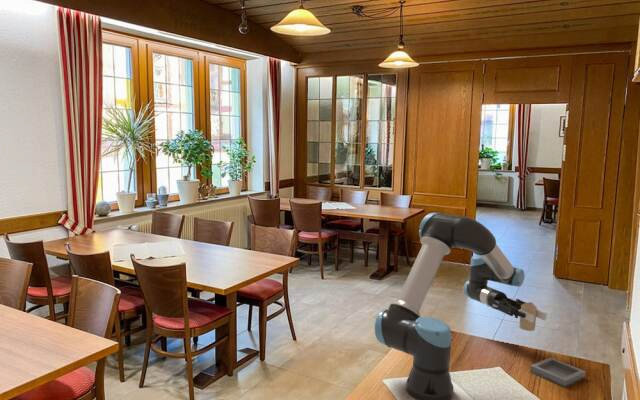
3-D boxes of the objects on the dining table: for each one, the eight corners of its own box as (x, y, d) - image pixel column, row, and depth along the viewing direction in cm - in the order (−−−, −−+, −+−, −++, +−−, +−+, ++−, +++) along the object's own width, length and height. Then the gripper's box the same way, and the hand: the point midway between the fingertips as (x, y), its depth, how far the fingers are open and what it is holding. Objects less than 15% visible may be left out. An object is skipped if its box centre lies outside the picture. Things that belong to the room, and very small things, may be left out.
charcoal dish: (565, 387, 164) (565, 380, 164) (530, 371, 175) (530, 365, 174) (585, 378, 171) (585, 371, 171) (550, 363, 182) (550, 357, 182)
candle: (527, 324, 189) (529, 300, 187) (538, 330, 183) (540, 304, 182) (516, 326, 187) (518, 301, 185) (526, 331, 181) (529, 306, 180)
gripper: (510, 304, 205) (556, 324, 184) (475, 309, 197) (520, 330, 176) (511, 287, 204) (558, 305, 183) (477, 292, 196) (521, 310, 175)
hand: (539, 317), depth 180 cm, fingers closed on candle, 5 cm apart
